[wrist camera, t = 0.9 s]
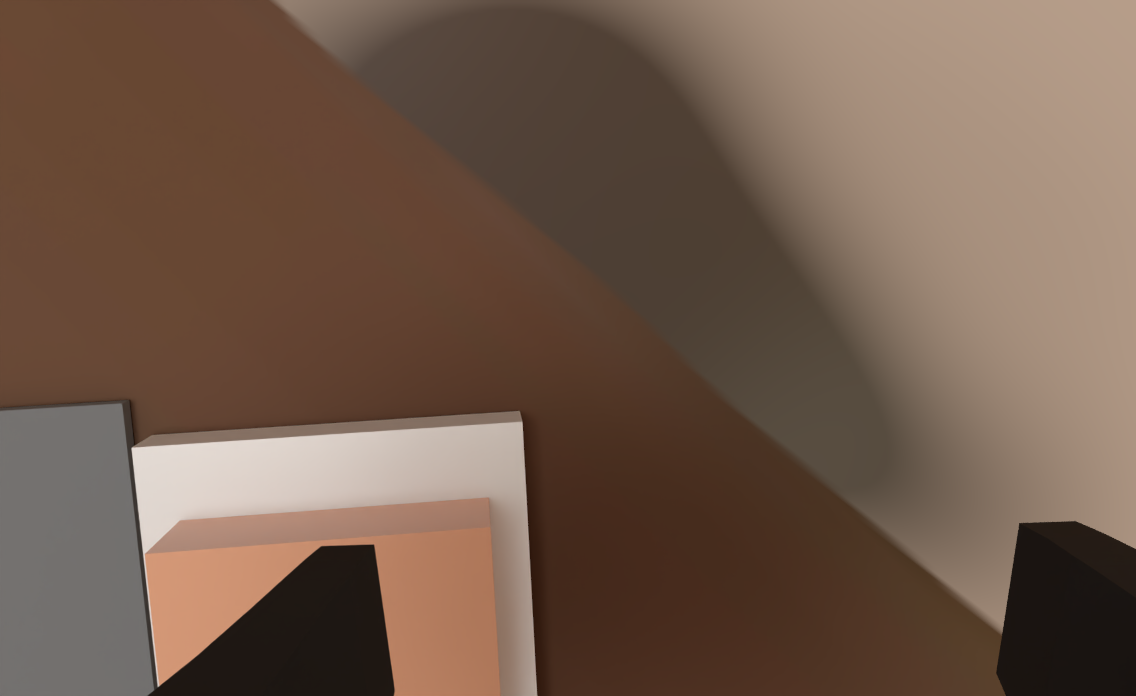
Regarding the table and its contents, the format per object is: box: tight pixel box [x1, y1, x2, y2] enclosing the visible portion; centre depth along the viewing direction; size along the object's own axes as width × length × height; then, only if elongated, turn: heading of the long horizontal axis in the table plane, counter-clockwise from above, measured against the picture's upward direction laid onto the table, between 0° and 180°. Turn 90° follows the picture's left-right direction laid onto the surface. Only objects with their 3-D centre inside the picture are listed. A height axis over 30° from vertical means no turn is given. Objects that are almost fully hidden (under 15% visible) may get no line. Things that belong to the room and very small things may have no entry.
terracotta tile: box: [145, 497, 501, 696], centre depth 23 cm, size 6×8×2 cm
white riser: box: [132, 411, 537, 696], centre depth 25 cm, size 10×10×2 cm
